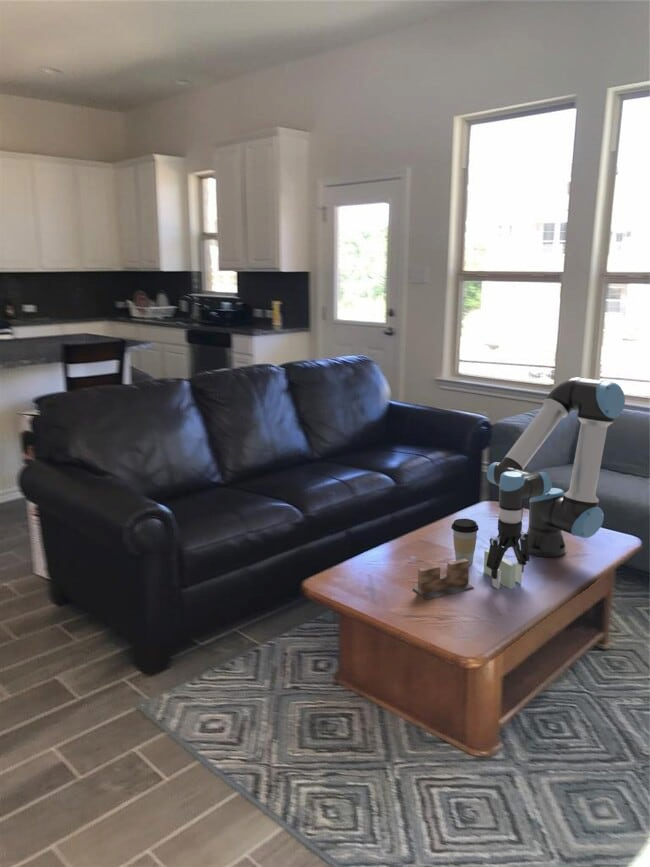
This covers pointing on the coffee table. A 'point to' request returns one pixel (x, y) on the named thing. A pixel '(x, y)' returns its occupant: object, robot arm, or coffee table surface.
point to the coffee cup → (464, 538)
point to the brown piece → (443, 579)
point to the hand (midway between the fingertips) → (507, 584)
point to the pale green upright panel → (503, 571)
